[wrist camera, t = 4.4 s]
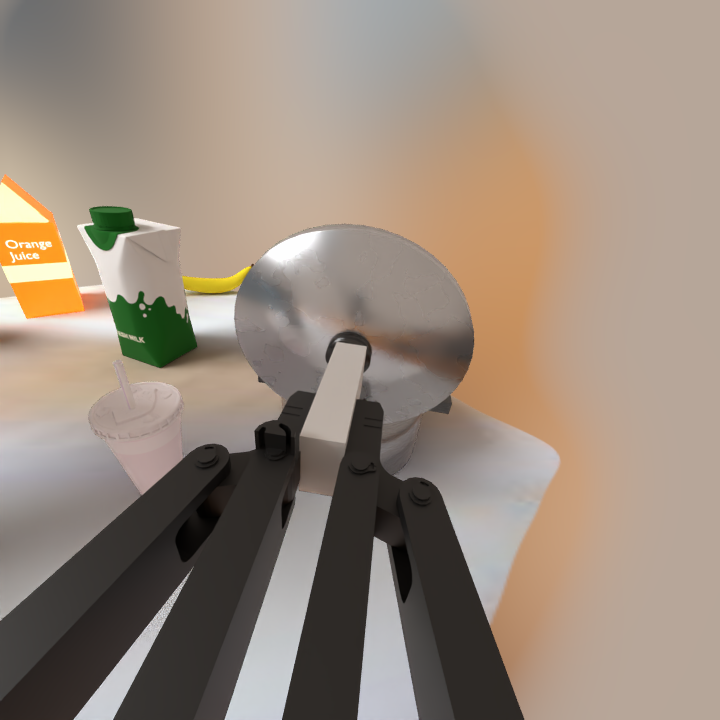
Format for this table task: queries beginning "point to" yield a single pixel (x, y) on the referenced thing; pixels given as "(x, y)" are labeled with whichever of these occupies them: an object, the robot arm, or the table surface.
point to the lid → (356, 316)
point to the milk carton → (141, 283)
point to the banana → (215, 282)
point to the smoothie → (141, 427)
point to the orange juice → (35, 255)
